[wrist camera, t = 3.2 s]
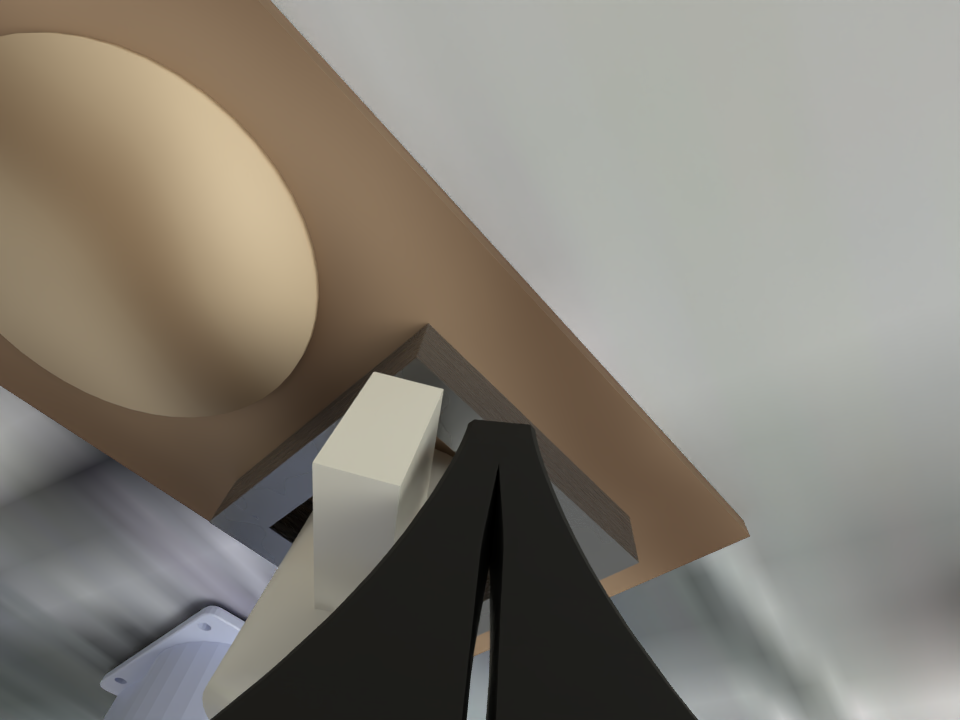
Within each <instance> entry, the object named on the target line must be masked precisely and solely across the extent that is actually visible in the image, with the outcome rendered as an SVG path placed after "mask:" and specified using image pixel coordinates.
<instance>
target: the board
mask: <svg viewBox="0 0 960 720" xmlns="http://www.w3.org/2000/svg"><path fill="white" fill-rule="evenodd" d="M15 33H65V34H72V35H80V36H88V37H91V38H95V39H99V40H102V41H106V42H109V43H113V44H117V45H120V46H122V47H125V48H127V49H129V50H132V51H134V52H137V53H139V54H141V55H144V56H146V57H149V58H151V59H153V60H154V61H156V62H158V63H160V64H162V65H163V66H165V67H167V68H169V69H171V70H172V71H174V72H176V73H178V74H179V75H181V76H182V77H184V78H185V79H187V80H188V81H190V82H191V83H192V84H194V85H195V86H197V87H198V88H199V89H201V90H202V91H204V92H205V93H206V94H208V95H209V96H210V97H211V98H213V99H214V100H215V101H216V102H217V103H218V104H219V105H220V106H222V107H223V108H224V109H225V110H226V111H227V112H228V113H230V114H231V115H232V116H233V117H234V118H235V119H236V120H237V121H238V122H239V123H240V124H241V125H242V126H243V128H244V129H245V130H246V131H247V132H248V133H249V134H250V135H251V136H252V137H253V138H254V139H255V141H256V142H257V143H258V144H259V145H260V147H261V148H262V149H263V151H264V152H265V153H266V155H267V156H268V157H269V159H270V160H271V161H272V163H273V164H274V165H275V167H276V168H277V169H278V171H279V173H280V174H281V176H282V178H283V180H284V181H285V183H286V185H287V186H288V188H289V190H290V191H291V193H292V195H293V197H294V199H295V201H296V203H297V205H298V208H299V210H300V212H301V214H302V216H303V218H304V221H305V223H306V227H307V230H308V233H309V236H310V239H311V242H312V245H313V249H314V254H315V259H316V265H317V270H318V284H319V301H318V312H317V318H316V322H315V326H314V330H313V334H312V337H311V339H310V342H309V344H308V346H307V348H306V351H305V353H304V354H303V356H302V357H301V359H300V360H299V362H298V364H297V365H296V367H295V368H294V370H293V371H292V372H291V374H290V375H289V376H288V377H287V378H286V379H285V380H284V381H283V382H282V383H281V385H280V386H279V387H277V388H276V389H275V390H274V391H272V392H271V393H270V394H268V395H267V396H266V397H264V398H263V399H261V400H259V401H257V402H255V403H253V404H251V405H249V406H247V407H244V408H241V409H239V410H236V411H233V412H229V413H225V414H220V415H215V416H206V417H194V418H190V417H169V416H162V415H155V414H149V413H145V412H140V411H136V410H132V409H128V408H125V407H122V406H119V405H116V404H113V403H110V402H107V401H105V400H102V399H100V398H98V397H95V396H93V395H91V394H88V393H86V392H84V391H82V390H80V389H78V388H76V387H74V386H73V385H71V384H69V383H67V382H65V381H63V380H62V379H60V378H58V377H57V376H55V375H54V374H52V373H50V372H49V371H47V370H46V369H44V368H42V367H41V366H40V365H38V364H37V363H36V362H34V361H33V360H32V359H30V358H29V357H27V356H26V355H25V354H23V353H22V352H21V351H20V350H18V349H17V348H16V347H15V346H14V345H13V344H11V343H10V342H9V341H8V340H7V339H6V338H5V337H3V336H2V335H1V334H0V386H2V387H3V388H5V389H7V390H8V391H10V392H11V393H13V394H14V395H16V396H17V397H19V398H20V399H22V400H23V401H25V402H27V403H28V404H30V405H31V406H33V407H34V408H36V409H37V410H39V411H40V412H42V413H43V414H45V415H47V416H48V417H50V418H51V419H53V420H54V421H56V422H57V423H59V424H60V425H62V426H63V427H65V428H67V429H68V430H70V431H71V432H73V433H74V434H76V435H77V436H79V437H80V438H82V439H83V440H85V441H87V442H88V443H90V444H91V445H93V446H94V447H96V448H97V449H99V450H100V451H102V452H103V453H105V454H107V455H108V456H110V457H111V458H113V459H114V460H116V461H117V462H119V463H120V464H122V465H123V466H125V467H127V468H128V469H130V470H131V471H133V472H134V473H136V474H137V475H139V476H140V477H142V478H143V479H145V480H146V481H148V482H150V483H151V484H153V485H154V486H156V487H157V488H159V489H160V490H162V491H163V492H165V493H166V494H168V495H170V496H171V497H173V498H174V499H176V500H177V501H179V502H180V503H182V504H183V505H185V506H186V507H188V508H190V509H191V510H193V511H194V512H196V513H197V514H199V515H200V516H202V517H203V518H205V519H206V520H208V521H210V520H211V518H212V517H213V515H214V514H215V512H216V511H217V509H218V508H219V506H220V505H221V503H222V501H223V500H224V498H225V497H226V495H227V494H228V492H229V491H230V489H231V488H232V486H233V485H234V483H235V481H236V480H238V479H239V478H240V477H241V476H242V475H244V474H245V473H246V472H247V471H249V470H250V469H251V468H252V467H253V466H255V465H256V464H257V463H258V462H260V461H261V460H262V459H263V458H264V457H266V456H267V455H268V454H269V453H270V452H272V451H273V450H274V449H275V448H277V447H278V446H279V445H280V444H281V443H283V442H284V441H285V440H286V439H288V438H289V437H290V436H291V435H292V434H294V433H295V432H296V431H297V430H299V429H300V428H301V427H302V426H303V425H305V424H306V423H307V422H308V421H310V420H311V419H312V418H313V417H314V416H316V415H317V414H318V413H319V412H321V411H322V410H323V409H324V408H325V407H327V406H328V405H329V404H330V403H332V402H333V401H334V400H335V399H336V398H338V397H339V396H340V395H341V394H342V393H344V392H345V391H346V390H347V389H349V388H350V387H351V386H352V385H353V384H355V383H356V382H357V381H358V380H360V379H361V378H362V377H363V376H364V375H366V374H367V373H368V372H369V371H371V370H372V369H373V368H374V367H375V366H377V365H378V364H379V363H380V362H382V361H383V360H384V359H385V358H386V357H388V356H389V355H390V354H391V353H393V352H394V351H395V350H396V349H397V348H399V347H400V346H401V345H402V344H404V343H405V342H406V341H407V340H408V339H410V338H411V337H412V336H413V335H414V334H416V333H417V332H418V331H419V330H421V329H422V328H423V327H424V326H425V325H427V324H428V323H429V324H430V325H431V326H432V327H433V328H434V329H435V330H436V331H437V332H438V333H439V334H440V335H441V336H442V337H443V338H444V339H445V340H446V341H447V342H449V343H450V344H451V345H452V346H453V347H454V348H455V349H456V350H457V351H458V352H459V353H460V354H461V355H462V356H463V357H464V358H465V359H466V360H467V361H468V362H469V363H470V364H471V365H472V366H473V367H474V368H476V369H477V370H478V371H479V372H480V373H481V374H482V375H483V376H484V377H485V378H486V379H487V380H488V381H489V382H490V383H491V384H492V385H493V386H494V387H495V388H496V389H497V390H498V391H499V392H500V393H501V394H503V395H504V396H505V397H506V398H507V399H508V400H509V401H510V402H511V403H512V404H513V405H514V406H515V407H516V408H517V409H518V410H519V411H520V412H521V413H522V414H523V415H524V416H525V417H526V418H527V419H528V420H530V421H531V422H532V423H533V424H534V425H535V426H536V427H537V428H538V429H539V430H540V431H541V432H542V433H543V434H544V435H545V436H546V437H547V438H548V439H549V440H550V441H551V442H552V443H553V444H554V445H555V446H557V447H558V448H559V449H560V450H561V451H562V452H563V453H564V454H565V455H566V456H567V457H568V458H569V459H570V460H571V461H572V462H573V463H574V464H575V465H576V466H577V467H578V468H579V469H580V470H581V471H583V472H584V473H585V474H586V475H587V476H588V477H589V478H590V479H591V480H592V481H593V482H594V483H595V484H596V485H597V486H598V487H599V488H600V489H601V490H602V491H603V492H604V493H605V494H606V495H607V496H608V497H610V498H611V499H612V500H613V501H614V502H615V503H616V504H617V505H618V506H619V507H620V508H621V509H622V510H623V511H624V512H625V513H626V514H627V515H628V516H629V517H630V522H631V527H632V531H633V536H634V541H635V546H636V551H637V556H638V560H639V563H637V564H635V565H633V566H631V567H628V568H626V569H624V570H622V571H620V572H617V573H615V574H613V575H611V576H609V577H606V578H604V579H602V580H600V583H601V584H602V586H603V588H604V589H605V591H606V593H607V594H608V596H609V597H611V596H614V595H616V594H618V593H621V592H623V591H625V590H627V589H630V588H632V587H634V586H637V585H639V584H641V583H644V582H646V581H648V580H650V579H653V578H655V577H657V576H660V575H662V574H664V573H667V572H669V571H671V570H673V569H676V568H678V567H680V566H683V565H685V564H687V563H690V562H692V561H694V560H696V559H699V558H701V557H703V556H706V555H708V554H710V553H713V552H715V551H717V550H719V549H722V548H724V547H726V546H729V545H731V544H733V543H736V542H738V541H740V540H743V539H745V538H747V537H749V536H750V535H749V532H748V530H747V528H746V526H745V523H744V521H743V520H742V519H741V517H740V516H739V515H738V514H737V513H736V512H735V511H734V510H733V509H732V508H731V506H730V505H729V504H728V503H727V502H726V501H725V500H724V499H723V498H722V497H721V495H720V494H719V493H718V492H717V491H716V490H715V489H714V488H713V487H712V486H711V484H710V483H709V482H708V481H707V480H706V479H705V478H704V477H703V476H702V475H701V473H700V472H699V471H698V470H697V469H696V468H695V467H694V466H693V465H692V464H691V462H690V461H689V460H688V459H687V458H686V457H685V456H684V455H683V454H682V453H681V451H680V450H679V449H678V448H677V447H676V446H675V445H674V444H673V443H672V442H671V440H670V439H669V438H668V437H667V436H666V435H665V434H664V433H663V432H662V431H661V429H660V428H659V427H658V426H657V425H656V424H655V423H654V422H653V421H652V420H651V418H650V417H649V416H648V415H647V414H646V413H645V412H644V411H643V410H642V409H641V407H640V406H639V405H638V404H637V403H636V402H635V401H634V400H633V399H632V398H631V396H630V395H629V394H628V393H627V392H626V391H625V390H624V389H623V388H622V387H621V385H620V384H619V383H618V382H617V381H616V380H615V379H614V378H613V377H612V376H611V374H610V373H609V372H608V371H607V370H606V369H605V368H604V367H603V366H602V365H601V363H600V362H599V361H598V360H597V359H596V358H595V357H594V356H593V355H592V354H591V352H590V351H589V350H588V349H587V348H586V347H585V346H584V345H583V344H582V343H581V341H580V340H579V339H578V338H577V337H576V336H575V335H574V334H573V333H572V332H571V330H570V329H569V328H568V327H567V326H566V325H565V324H564V323H563V322H562V321H561V320H560V318H559V317H558V316H557V315H556V314H555V313H554V312H553V311H552V310H551V309H550V307H549V306H548V305H547V304H546V303H545V302H544V301H543V300H542V299H541V298H540V296H539V295H538V294H537V293H536V292H535V291H534V290H533V289H532V288H531V287H530V285H529V284H528V283H527V282H526V281H525V280H524V279H523V278H522V277H521V276H520V274H519V273H518V272H517V271H516V270H515V269H514V268H513V267H512V266H511V265H510V263H509V262H508V261H507V260H506V259H505V258H504V257H503V256H502V255H501V254H500V252H499V251H498V250H497V249H496V248H495V247H494V246H493V245H492V244H491V243H490V241H489V240H488V239H487V238H486V237H485V236H484V235H483V234H482V233H481V232H480V230H479V229H478V228H477V227H476V226H475V225H474V224H473V223H472V222H471V221H470V219H469V218H468V217H467V216H466V215H465V214H464V213H463V212H462V211H461V210H460V208H459V207H458V206H457V205H456V204H455V203H454V202H453V201H452V200H451V199H450V197H449V196H448V195H447V194H446V193H445V192H444V191H443V190H442V189H441V188H440V186H439V185H438V184H437V183H436V182H435V181H434V180H433V179H432V178H431V177H430V175H429V174H428V173H427V172H426V171H425V170H424V169H423V168H422V167H421V166H420V164H419V163H418V162H417V161H416V160H415V159H414V158H413V157H412V156H411V155H410V153H409V152H408V151H407V150H406V149H405V148H404V147H403V146H402V145H401V144H400V142H399V141H398V140H397V139H396V138H395V137H394V136H393V135H392V134H391V133H390V131H389V130H388V129H387V128H386V127H385V126H384V125H383V124H382V123H381V122H380V121H379V119H378V118H377V117H376V116H375V115H374V114H373V113H372V112H371V111H370V110H369V108H368V107H367V106H366V105H365V104H364V103H363V102H362V101H361V100H360V99H359V97H358V96H357V95H356V94H355V93H354V92H353V91H352V90H351V89H350V88H349V86H348V85H347V84H346V83H345V82H344V81H343V80H342V79H341V78H340V77H339V75H338V74H337V73H336V72H335V71H334V70H333V69H332V68H331V67H330V66H329V64H328V63H327V62H326V61H325V60H324V59H323V58H322V57H321V56H320V55H319V53H318V52H317V51H316V50H315V49H314V48H313V47H312V46H311V45H310V44H309V42H308V41H307V40H306V39H305V38H304V37H303V36H302V35H301V34H300V33H299V31H298V30H297V29H296V28H295V27H294V26H293V25H292V24H291V23H290V22H289V20H288V19H287V18H286V17H285V16H284V15H283V14H282V13H281V12H280V11H279V9H278V8H277V7H276V6H275V5H274V4H273V3H272V2H271V1H270V0H0V36H5V35H10V34H15ZM434 449H437V450H439V451H441V452H444V453H446V454H448V455H450V456H452V457H454V455H455V452H454V451H453V450H452V449H451V448H450V447H448V446H447V445H446V444H445V443H444V442H443V441H441V440H440V439H439V438H438V437H437V436H436V442H435V448H434ZM309 499H310V500H311V501H312V502H313V496H312V497H310V498H309ZM489 649H490V631H487V632H485V633H483V634H481V635H479V636H477V638H476V644H475V649H474V656H476V655H478V654H480V653H483V652H485V651H487V650H489Z"/></svg>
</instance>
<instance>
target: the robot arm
mask: <svg viewBox="0 0 960 720" xmlns="http://www.w3.org/2000/svg"><path fill="white" fill-rule="evenodd" d="M488 571H489V603H490V666H489V687H488V700H487V714H486V720H698V719H697V718H696V717H695V715H694V714H693V713H692V712H691V710H690V709H689V708H688V707H687V705H686V704H685V703H684V702H683V700H682V699H681V698H680V697H679V695H678V694H677V693H676V692H675V690H674V689H673V688H672V686H671V685H670V684H669V682H668V681H667V680H666V678H665V677H664V675H663V674H662V673H661V671H660V670H659V669H658V667H657V666H656V664H655V663H654V662H653V660H652V659H651V658H650V656H649V655H648V653H647V652H646V651H645V649H644V648H643V647H642V645H641V644H640V642H639V641H638V640H637V638H636V637H635V636H634V634H633V633H632V631H631V630H630V628H629V627H628V625H627V624H626V622H625V621H624V619H623V618H622V616H621V615H620V613H619V611H618V610H617V608H616V607H615V605H614V604H613V602H612V601H611V599H610V597H609V596H608V594H607V593H606V591H605V589H604V588H603V586H602V584H601V583H600V581H599V579H598V578H597V576H596V574H595V572H594V571H593V569H592V567H591V565H590V564H589V562H588V560H587V558H586V556H585V554H584V553H583V551H582V549H581V547H580V545H579V543H578V541H577V539H576V537H575V535H574V533H573V531H572V529H571V527H570V525H569V523H568V521H567V519H566V517H565V514H564V512H563V510H562V508H561V505H560V503H559V501H558V498H557V496H556V494H555V491H554V489H553V487H552V484H551V481H550V479H549V476H548V473H547V471H546V468H545V465H544V462H543V459H542V456H541V453H540V449H539V446H538V441H537V437H536V432H535V429H534V428H533V427H532V426H531V425H529V424H518V423H508V422H497V421H486V420H476V419H474V420H473V421H471V422H470V423H468V426H467V429H466V432H465V434H464V436H463V439H462V441H461V443H460V445H459V447H458V449H457V451H456V453H455V455H454V457H453V459H452V460H451V462H450V464H449V466H448V468H447V469H446V471H445V472H444V474H443V476H442V477H441V479H440V481H439V482H438V484H437V485H436V487H435V489H434V490H433V492H432V493H431V495H430V496H429V498H428V499H427V501H426V502H425V504H424V505H423V506H422V508H421V509H420V511H419V512H418V513H417V515H416V516H415V518H414V519H413V520H412V522H411V523H410V525H409V526H408V527H407V529H406V530H405V531H404V533H403V534H402V535H401V536H400V538H399V539H398V540H397V542H396V543H395V544H394V545H393V546H392V548H391V549H390V550H389V551H388V553H387V554H386V555H385V556H384V557H383V558H382V560H381V561H380V562H379V563H378V564H377V566H376V567H375V568H374V569H373V570H372V571H371V572H370V574H369V575H368V576H367V577H366V578H365V579H364V580H363V581H362V582H361V583H360V584H359V585H358V586H357V588H356V589H355V590H354V591H353V592H352V593H351V594H350V595H349V596H348V597H347V598H346V599H345V600H344V601H343V602H342V603H341V604H340V606H339V607H338V608H337V609H336V610H335V611H334V612H333V613H332V614H331V615H330V616H329V617H328V618H327V619H326V620H324V621H323V622H322V623H321V624H320V625H319V626H318V627H317V628H316V629H315V630H314V631H313V632H312V633H310V634H309V635H308V636H307V637H306V638H305V639H304V640H303V641H302V642H301V643H300V644H299V645H297V646H296V647H295V648H294V649H293V650H292V651H291V652H290V653H289V654H288V655H287V656H286V657H285V658H283V659H282V660H281V661H280V662H279V663H278V664H277V665H276V666H274V667H273V668H272V669H271V670H270V671H269V672H268V673H266V674H265V675H264V676H263V677H262V678H260V679H259V680H258V681H257V682H256V683H254V684H253V685H252V686H251V687H249V688H248V689H247V690H246V691H244V692H243V693H242V694H241V695H240V696H238V697H237V698H236V699H235V700H233V701H232V702H231V703H230V704H229V705H227V706H226V707H225V708H224V709H222V710H221V711H220V712H219V713H218V714H216V715H215V716H214V717H213V718H211V719H210V720H467V710H468V699H469V689H470V679H471V671H472V663H473V656H474V649H475V644H476V638H477V633H478V627H479V622H480V616H481V610H482V605H483V599H484V594H485V588H486V583H487V577H488ZM244 623H245V621H243V620H241V619H239V618H238V617H236V616H234V615H233V614H231V613H229V612H228V611H226V610H224V609H222V608H220V607H218V606H208V607H205V608H203V609H202V610H200V611H199V612H197V613H196V614H194V615H193V616H191V617H190V618H189V619H187V620H186V621H184V622H183V623H181V624H180V625H178V626H177V627H175V628H174V629H172V630H171V631H169V632H168V633H166V634H165V635H163V636H162V637H160V638H159V639H157V640H156V641H154V642H153V643H151V644H150V645H148V646H147V647H145V648H144V649H142V650H141V651H140V652H138V653H137V654H135V655H134V656H132V657H131V658H129V659H128V660H126V661H125V662H123V663H122V664H120V665H119V666H117V667H116V668H114V669H113V670H111V671H110V672H108V673H107V674H105V676H104V677H103V679H102V680H101V682H100V686H101V687H102V688H103V689H104V690H106V691H108V692H110V693H112V694H114V695H116V696H117V697H116V699H115V701H114V702H113V704H112V705H111V707H110V709H109V710H108V712H107V713H106V715H105V717H104V718H103V720H209V718H208V717H207V715H206V713H205V710H204V707H203V701H202V697H203V692H204V690H205V688H206V686H207V684H208V682H209V681H210V679H211V677H212V676H213V674H214V672H215V671H216V669H217V668H218V666H219V664H220V663H221V661H222V659H223V658H224V656H225V654H226V653H227V651H228V649H229V648H230V646H231V644H232V643H233V641H234V640H235V638H236V636H237V635H238V633H239V631H240V630H241V628H242V626H243V625H244Z"/></svg>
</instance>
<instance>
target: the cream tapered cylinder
mask: <svg viewBox="0 0 960 720" xmlns="http://www.w3.org/2000/svg"><path fill="white" fill-rule="evenodd" d="M443 391H444V389H441V388H437V387H433V386H429V385H425V384H421V383H417V382H413V381H409V380H405V379H402V378H398V377H394V376H390V375H386V374H382V373H378V372H373V373H372V375H371V376H370V378H369V379H368V381H367V382H366V384H365V385H364V387H363V388H362V390H361V391H360V393H359V394H358V396H357V397H356V399H355V400H354V402H353V403H352V405H351V406H350V408H349V409H348V410H347V412H346V413H345V415H344V416H343V418H342V419H341V421H340V422H339V424H338V425H337V427H336V428H335V430H334V431H333V433H332V434H331V436H330V437H329V439H328V440H327V442H326V443H325V445H324V446H323V447H322V449H321V450H320V452H319V453H318V455H317V456H316V458H315V459H314V461H313V462H312V476H313V511H312V513H311V514H310V516H309V518H308V519H307V521H306V523H305V524H304V526H303V527H302V529H301V531H300V532H299V534H298V536H297V537H296V539H295V541H294V542H293V544H292V546H291V547H290V549H289V551H288V552H287V554H286V555H285V557H284V559H283V560H282V562H281V564H280V565H279V567H278V569H277V570H276V572H275V574H274V575H273V577H272V579H271V580H270V582H269V584H268V585H267V587H266V588H265V590H264V592H263V593H262V595H261V597H260V598H259V600H258V602H257V603H256V605H255V607H254V608H253V610H252V612H251V613H250V615H249V616H248V618H247V620H246V621H245V623H244V625H243V626H242V628H241V630H240V631H239V633H238V635H237V636H236V638H235V640H234V641H233V643H232V644H231V646H230V648H229V649H228V651H227V653H226V654H225V656H224V658H223V659H222V661H221V663H220V664H219V666H218V668H217V669H216V671H215V672H214V674H213V676H212V677H211V679H210V681H209V682H208V684H207V686H206V688H205V690H204V692H203V697H202V701H203V707H204V710H205V713H206V715H207V717H208V718H209V720H210V719H211V718H213V717H214V716H215V715H216V714H218V713H219V712H220V711H221V710H222V709H224V708H225V707H226V706H227V705H229V704H230V703H231V702H232V701H233V700H235V699H236V698H237V697H238V696H240V695H241V694H242V693H243V692H244V691H246V690H247V689H248V688H249V687H251V686H252V685H253V684H254V683H256V682H257V681H258V680H259V679H260V678H262V677H263V676H264V675H265V674H266V673H268V672H269V671H270V670H271V669H272V668H273V667H274V666H276V665H277V664H278V663H279V662H280V661H281V660H282V659H283V658H285V657H286V656H287V655H288V654H289V653H290V652H291V651H292V650H293V649H294V648H295V647H296V646H297V645H299V644H300V643H301V642H302V641H303V640H304V639H305V638H306V637H307V636H308V635H309V634H310V633H312V632H313V631H314V630H315V629H316V628H317V627H318V626H319V625H320V624H321V623H322V622H323V621H324V620H326V619H327V618H328V617H329V616H330V615H331V614H332V613H333V612H334V611H335V610H336V609H337V608H338V607H339V606H340V604H341V603H342V602H343V601H344V600H345V599H346V598H347V597H348V596H349V595H350V594H351V593H352V592H353V591H354V590H355V589H356V588H357V586H358V585H359V584H360V583H361V582H362V581H363V580H364V579H365V578H366V577H367V576H368V575H369V574H370V572H371V571H372V570H373V569H374V568H375V567H376V566H377V564H378V563H379V562H380V561H381V560H382V558H383V557H384V556H385V555H386V554H387V553H388V551H389V550H390V549H391V548H392V546H393V545H394V544H395V543H396V542H397V540H398V539H399V538H400V536H401V535H402V534H403V533H404V531H405V530H406V529H407V527H408V526H409V525H410V523H411V522H412V520H413V519H414V518H415V516H416V515H417V513H418V512H419V511H420V509H421V508H422V506H423V505H424V504H425V502H426V501H427V499H428V498H429V496H430V495H431V493H432V492H433V490H434V489H435V487H436V485H437V484H438V482H439V481H440V479H441V477H442V476H443V474H444V472H445V471H446V469H447V468H448V466H449V464H450V462H451V460H452V459H453V457H452V456H450V455H448V454H446V453H444V452H441V451H439V450H437V449H434V448H435V442H436V435H437V429H438V423H439V416H440V410H441V404H442V397H443Z"/></svg>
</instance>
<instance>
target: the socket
mask: <svg viewBox="0 0 960 720" xmlns="http://www.w3.org/2000/svg"><path fill="white" fill-rule="evenodd" d="M373 372H378V373H382V374H386V375H390V376H394V377H398V378H402V379H405V380H409V381H413V382H417V383H421V384H425V385H429V386H433V387H437V388H441V389H444V391H443V397H442V404H441V410H440V416H439V423H438V429H437V435H436V436H437V437H438V438H439V439H440V440H441V441H443V442H444V443H445V444H446V445H447V446H448V447H450V448H451V449H452V450H453V451H454V452H455V453H456V451H457V449H458V447H459V445H460V443H461V441H462V439H463V436H464V434H465V432H466V429H467V426H468V423H470V422H471V421H473V420H474V419H476V420H486V421H497V422H508V423H518V424H529V425H531V426H532V427H533V428H534V429H535V432H536V437H537V441H538V446H539V449H540V453H541V456H542V459H543V462H544V465H545V468H546V471H547V473H548V476H549V479H550V481H551V484H552V487H553V489H554V491H555V494H556V496H557V498H558V501H559V503H560V505H561V508H562V510H563V512H564V514H565V517H566V519H567V521H568V523H569V525H570V527H571V529H572V531H573V533H574V535H575V537H576V539H577V541H578V543H579V545H580V547H581V549H582V551H583V553H584V554H585V556H586V558H587V560H588V562H589V564H590V565H591V567H592V569H593V571H594V572H595V574H596V576H597V578H598V579H599V581H600V580H602V579H604V578H606V577H609V576H611V575H613V574H615V573H617V572H620V571H622V570H624V569H626V568H628V567H631V566H633V565H635V564H637V563H639V560H638V556H637V551H636V546H635V541H634V536H633V531H632V527H631V522H630V517H629V516H628V515H627V514H626V513H625V512H624V511H623V510H622V509H621V508H620V507H619V506H618V505H617V504H616V503H615V502H614V501H613V500H612V499H611V498H610V497H608V496H607V495H606V494H605V493H604V492H603V491H602V490H601V489H600V488H599V487H598V486H597V485H596V484H595V483H594V482H593V481H592V480H591V479H590V478H589V477H588V476H587V475H586V474H585V473H584V472H583V471H581V470H580V469H579V468H578V467H577V466H576V465H575V464H574V463H573V462H572V461H571V460H570V459H569V458H568V457H567V456H566V455H565V454H564V453H563V452H562V451H561V450H560V449H559V448H558V447H557V446H555V445H554V444H553V443H552V442H551V441H550V440H549V439H548V438H547V437H546V436H545V435H544V434H543V433H542V432H541V431H540V430H539V429H538V428H537V427H536V426H535V425H534V424H533V423H532V422H531V421H530V420H528V419H527V418H526V417H525V416H524V415H523V414H522V413H521V412H520V411H519V410H518V409H517V408H516V407H515V406H514V405H513V404H512V403H511V402H510V401H509V400H508V399H507V398H506V397H505V396H504V395H503V394H501V393H500V392H499V391H498V390H497V389H496V388H495V387H494V386H493V385H492V384H491V383H490V382H489V381H488V380H487V379H486V378H485V377H484V376H483V375H482V374H481V373H480V372H479V371H478V370H477V369H476V368H474V367H473V366H472V365H471V364H470V363H469V362H468V361H467V360H466V359H465V358H464V357H463V356H462V355H461V354H460V353H459V352H458V351H457V350H456V349H455V348H454V347H453V346H452V345H451V344H450V343H449V342H447V341H446V340H445V339H444V338H443V337H442V336H441V335H440V334H439V333H438V332H437V331H436V330H435V329H434V328H433V327H432V326H431V325H430V324H429V323H428V324H427V325H425V326H424V327H423V328H422V329H421V330H419V331H418V332H417V333H416V334H414V335H413V336H412V337H411V338H410V339H408V340H407V341H406V342H405V343H404V344H402V345H401V346H400V347H399V348H397V349H396V350H395V351H394V352H393V353H391V354H390V355H389V356H388V357H386V358H385V359H384V360H383V361H382V362H380V363H379V364H378V365H377V366H375V367H374V368H373V369H372V370H371V371H369V372H368V373H367V374H366V375H364V376H363V377H362V378H361V379H360V380H358V381H357V382H356V383H355V384H353V385H352V386H351V387H350V388H349V389H347V390H346V391H345V392H344V393H342V394H341V395H340V396H339V397H338V398H336V399H335V400H334V401H333V402H332V403H330V404H329V405H328V406H327V407H325V408H324V409H323V410H322V411H321V412H319V413H318V414H317V415H316V416H314V417H313V418H312V419H311V420H310V421H308V422H307V423H306V424H305V425H303V426H302V427H301V428H300V429H299V430H297V431H296V432H295V433H294V434H292V435H291V436H290V437H289V438H288V439H286V440H285V441H284V442H283V443H281V444H280V445H279V446H278V447H277V448H275V449H274V450H273V451H272V452H270V453H269V454H268V455H267V456H266V457H264V458H263V459H262V460H261V461H260V462H258V463H257V464H256V465H255V466H253V467H252V468H251V469H250V470H249V471H247V472H246V473H245V474H244V475H242V476H241V477H240V478H239V479H238V480H236V481H235V483H234V485H233V486H232V488H231V489H230V491H229V492H228V494H227V495H226V497H225V498H224V500H223V501H222V503H221V505H220V506H219V508H218V509H217V511H216V512H215V514H214V515H213V517H212V518H211V520H210V521H209V522H210V523H211V524H213V525H215V526H216V527H218V528H219V529H221V530H222V531H224V532H225V533H227V534H228V535H230V536H231V537H233V538H235V539H236V540H238V541H239V542H241V543H242V544H244V545H245V546H247V547H248V548H250V549H251V550H253V551H255V552H256V553H258V554H259V555H261V556H262V557H264V558H265V559H267V560H268V561H270V562H272V563H273V564H275V565H276V566H278V567H279V565H280V564H281V562H282V560H283V559H284V557H285V555H286V554H287V552H288V551H289V549H290V547H291V546H292V544H293V542H294V541H295V539H296V537H297V536H298V534H299V532H300V531H301V529H302V527H303V526H304V524H305V523H306V521H307V519H308V518H309V516H310V514H311V513H312V511H313V502H312V501H311V500H310V499H309V498H310V497H312V496H313V476H312V462H313V461H314V459H315V458H316V456H317V455H318V453H319V452H320V450H321V449H322V447H323V446H324V445H325V443H326V442H327V440H328V439H329V437H330V436H331V434H332V433H333V431H334V430H335V428H336V427H337V425H338V424H339V422H340V421H341V419H342V418H343V416H344V415H345V413H346V412H347V410H348V409H349V408H350V406H351V405H352V403H353V402H354V400H355V399H356V397H357V396H358V394H359V393H360V391H361V390H362V388H363V387H364V385H365V384H366V382H367V381H368V379H369V378H370V376H371V375H372V373H373ZM487 631H490V603H489V571H488V577H487V583H486V588H485V594H484V599H483V605H482V610H481V616H480V622H479V627H478V633H477V636H479V635H481V634H483V633H485V632H487Z"/></svg>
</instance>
